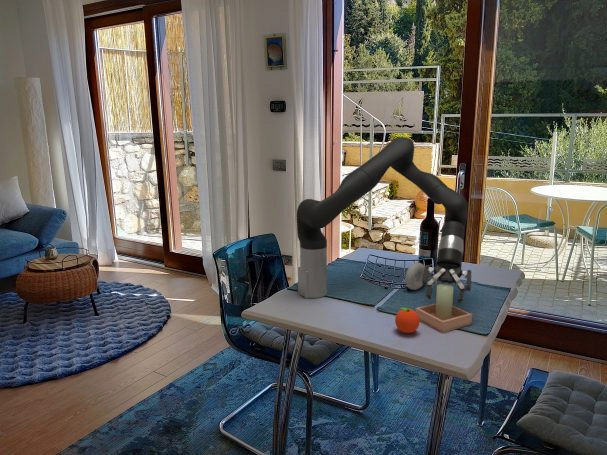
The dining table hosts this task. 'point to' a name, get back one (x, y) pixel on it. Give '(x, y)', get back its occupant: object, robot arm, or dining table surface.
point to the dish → (457, 320)
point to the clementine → (407, 320)
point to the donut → (410, 276)
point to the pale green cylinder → (444, 301)
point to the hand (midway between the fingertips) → (444, 300)
